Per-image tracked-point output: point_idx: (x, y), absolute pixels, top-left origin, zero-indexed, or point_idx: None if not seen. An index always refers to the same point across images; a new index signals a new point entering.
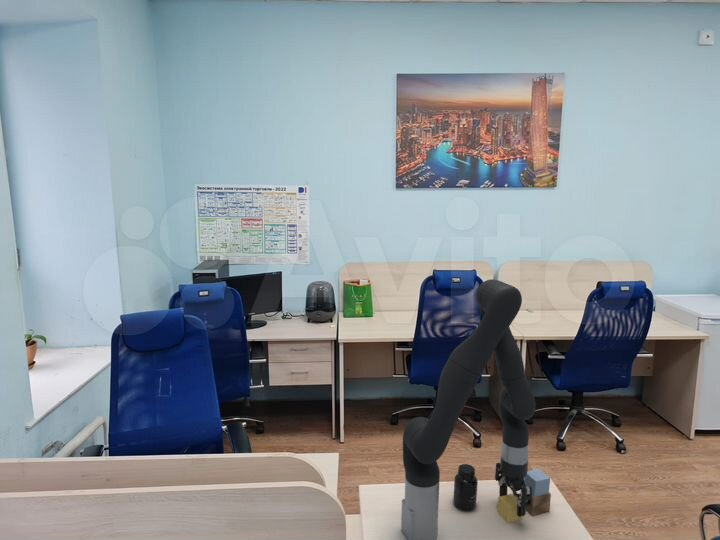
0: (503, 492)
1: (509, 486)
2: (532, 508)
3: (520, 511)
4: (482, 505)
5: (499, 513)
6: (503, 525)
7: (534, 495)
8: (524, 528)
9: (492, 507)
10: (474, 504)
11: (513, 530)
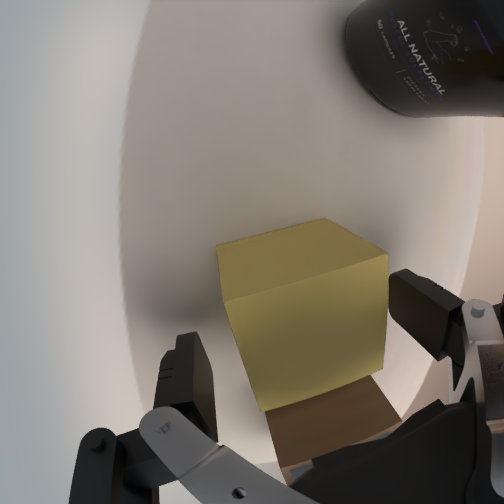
0: (415, 309)
1: (396, 448)
2: (269, 412)
3: (168, 375)
4: (386, 149)
5: (306, 223)
6: (192, 210)
7: (294, 476)
8: (164, 324)
9: (363, 201)
10: (377, 73)
11: (145, 258)
